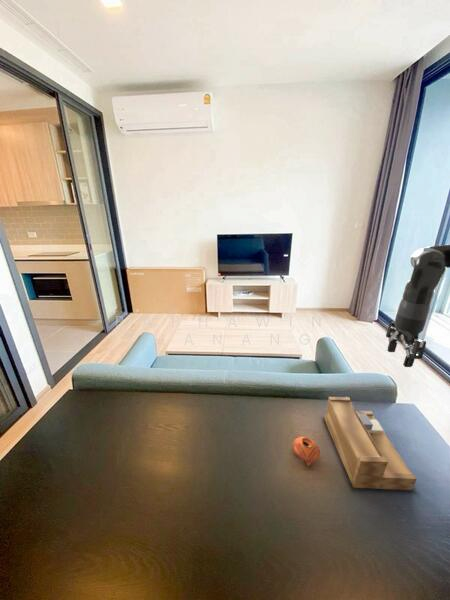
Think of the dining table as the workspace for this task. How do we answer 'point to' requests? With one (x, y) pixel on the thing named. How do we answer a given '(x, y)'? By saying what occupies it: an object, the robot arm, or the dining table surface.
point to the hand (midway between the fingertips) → (398, 358)
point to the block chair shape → (371, 424)
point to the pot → (306, 449)
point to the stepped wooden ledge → (365, 449)
